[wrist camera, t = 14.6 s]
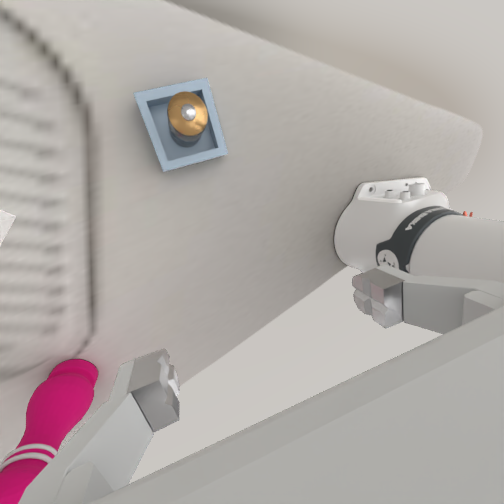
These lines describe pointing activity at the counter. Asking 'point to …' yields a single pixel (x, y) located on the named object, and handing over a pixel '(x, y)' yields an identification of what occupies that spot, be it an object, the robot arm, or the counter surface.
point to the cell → (186, 118)
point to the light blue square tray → (157, 125)
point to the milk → (5, 224)
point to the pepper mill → (47, 425)
